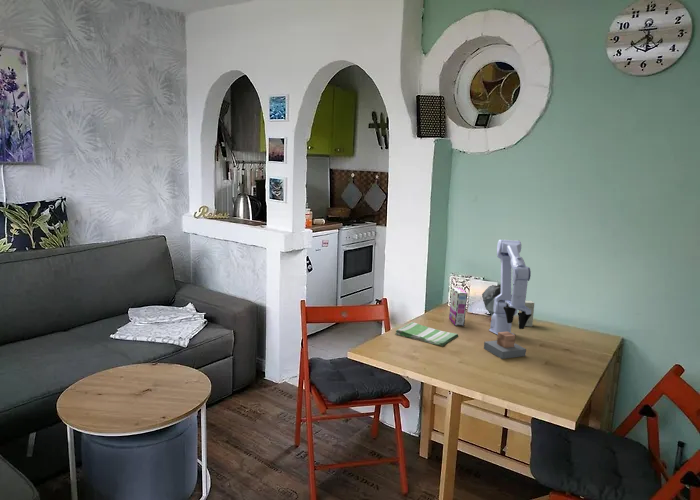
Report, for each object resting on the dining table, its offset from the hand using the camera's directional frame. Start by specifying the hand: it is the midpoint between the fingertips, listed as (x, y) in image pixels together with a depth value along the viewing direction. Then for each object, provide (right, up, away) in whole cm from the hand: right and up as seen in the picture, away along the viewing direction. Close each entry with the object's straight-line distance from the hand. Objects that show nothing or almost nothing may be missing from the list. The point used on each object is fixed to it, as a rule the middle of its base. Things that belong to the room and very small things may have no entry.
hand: (515, 325), depth 216 cm
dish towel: (-36, -7, +14) cm, 39 cm away
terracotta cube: (-5, -8, -3) cm, 10 cm away
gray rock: (+3, -3, +44) cm, 44 cm away
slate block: (-6, -11, -3) cm, 12 cm away
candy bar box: (-18, -4, +35) cm, 39 cm away
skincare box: (+16, -5, +36) cm, 40 cm away
